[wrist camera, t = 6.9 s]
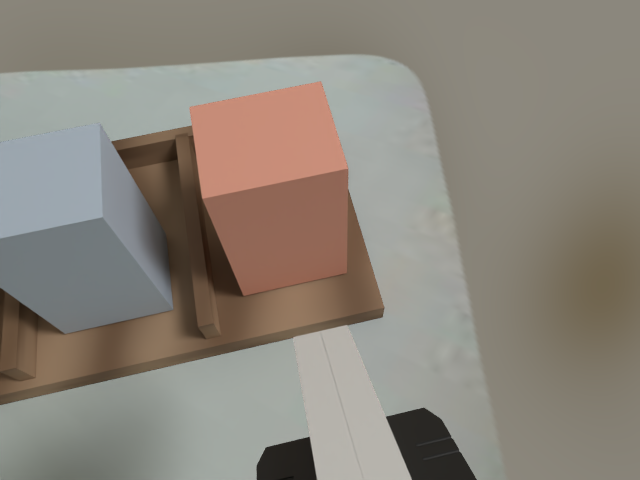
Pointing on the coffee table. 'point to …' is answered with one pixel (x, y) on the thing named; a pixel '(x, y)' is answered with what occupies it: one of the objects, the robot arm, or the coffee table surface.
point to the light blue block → (78, 232)
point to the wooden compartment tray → (180, 293)
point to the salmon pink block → (274, 185)
